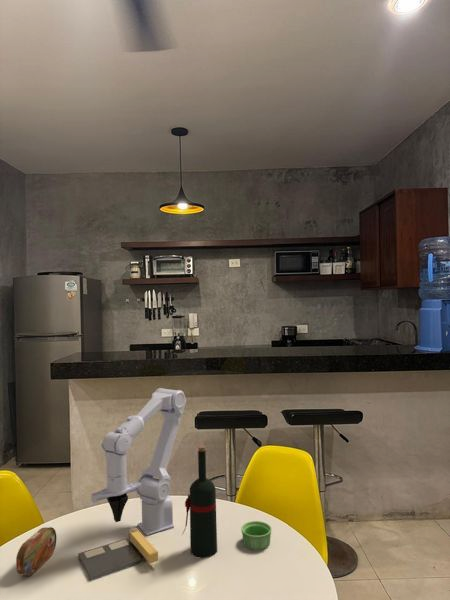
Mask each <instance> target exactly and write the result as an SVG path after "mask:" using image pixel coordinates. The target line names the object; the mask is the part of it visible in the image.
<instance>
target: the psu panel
mask: <svg viewBox="0 0 450 600" xmlns="http://www.w3.org/2000/svg"><path fill="white" fill-rule="evenodd" d="M77 557H78V560H79V561H80V563H81V565H82V568H83V569H84V571H85V572H86V575H87V577H88V578H89V580H90V581H91V582H92V581H94V580H97V579H100V578H102V577H106V576H109V575H111V574H114V573H117V572H120V571H123V570H125V569H129V568H131V567H135V566H136V565H139V564H143V563H146V562H148V561H147V560H146V558H145V557H144V556H143V555H142V554H141V553H140V551H139V550H138V549H137V548H136V547H135V545H134V544H133V543H132V542H131V541H130V540H129V539H128V537H127V538H124V539H120V540H117V541H113V542H111V543H106V544H103V545H101V546H97V547H94V548H91V549H88V550H85V551H81V552H78V554H77Z"/></svg>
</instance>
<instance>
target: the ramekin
mask: <svg viewBox="0 0 450 600" xmlns="http://www.w3.org/2000/svg"><path fill="white" fill-rule="evenodd" d="M272 529H273V528H272V526H271V525H270V524H268V523H267V522H264V521H260V520H250V521H248V522H244V524H242V526H241V533H242V542H243V545H244V546H245V547H246V548H248V549H250V550H255V551H259V550H264V549H266V548H268V547H269V546H270V544H271V537H272V536H271V535H272V534H271V533H272Z"/></svg>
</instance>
